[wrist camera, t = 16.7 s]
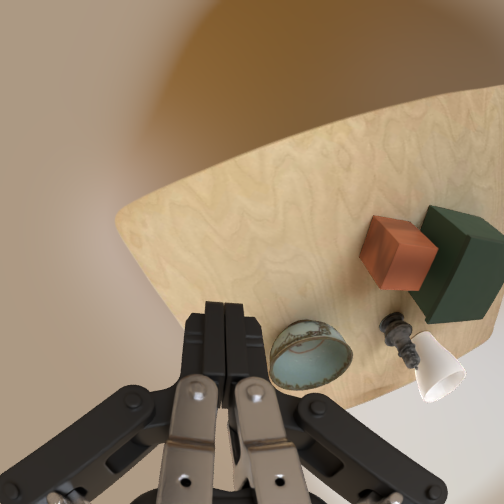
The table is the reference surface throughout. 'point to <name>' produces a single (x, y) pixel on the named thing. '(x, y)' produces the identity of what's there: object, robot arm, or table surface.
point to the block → (397, 254)
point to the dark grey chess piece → (400, 338)
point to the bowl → (308, 356)
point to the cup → (436, 368)
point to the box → (460, 267)
